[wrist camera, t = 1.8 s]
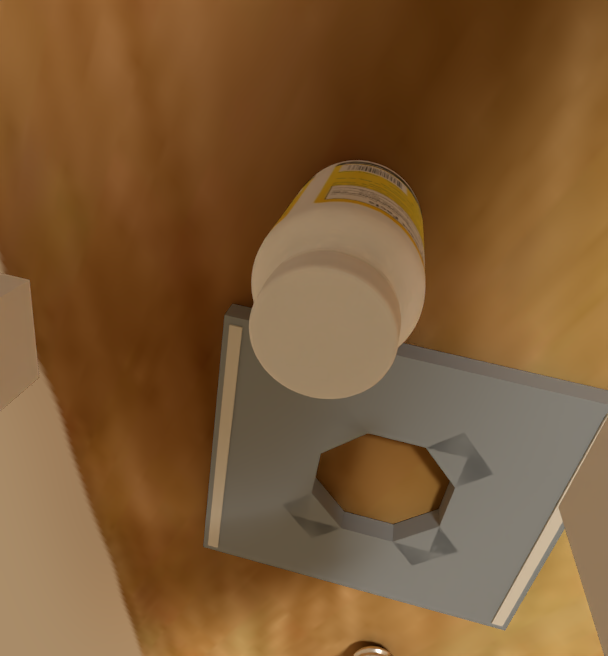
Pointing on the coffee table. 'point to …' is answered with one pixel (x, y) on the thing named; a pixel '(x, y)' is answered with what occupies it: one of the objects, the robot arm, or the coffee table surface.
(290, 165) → the coffee table surface
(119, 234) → the coffee table surface
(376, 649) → the light bulb
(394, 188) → the supplement bottle
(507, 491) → the socket board
